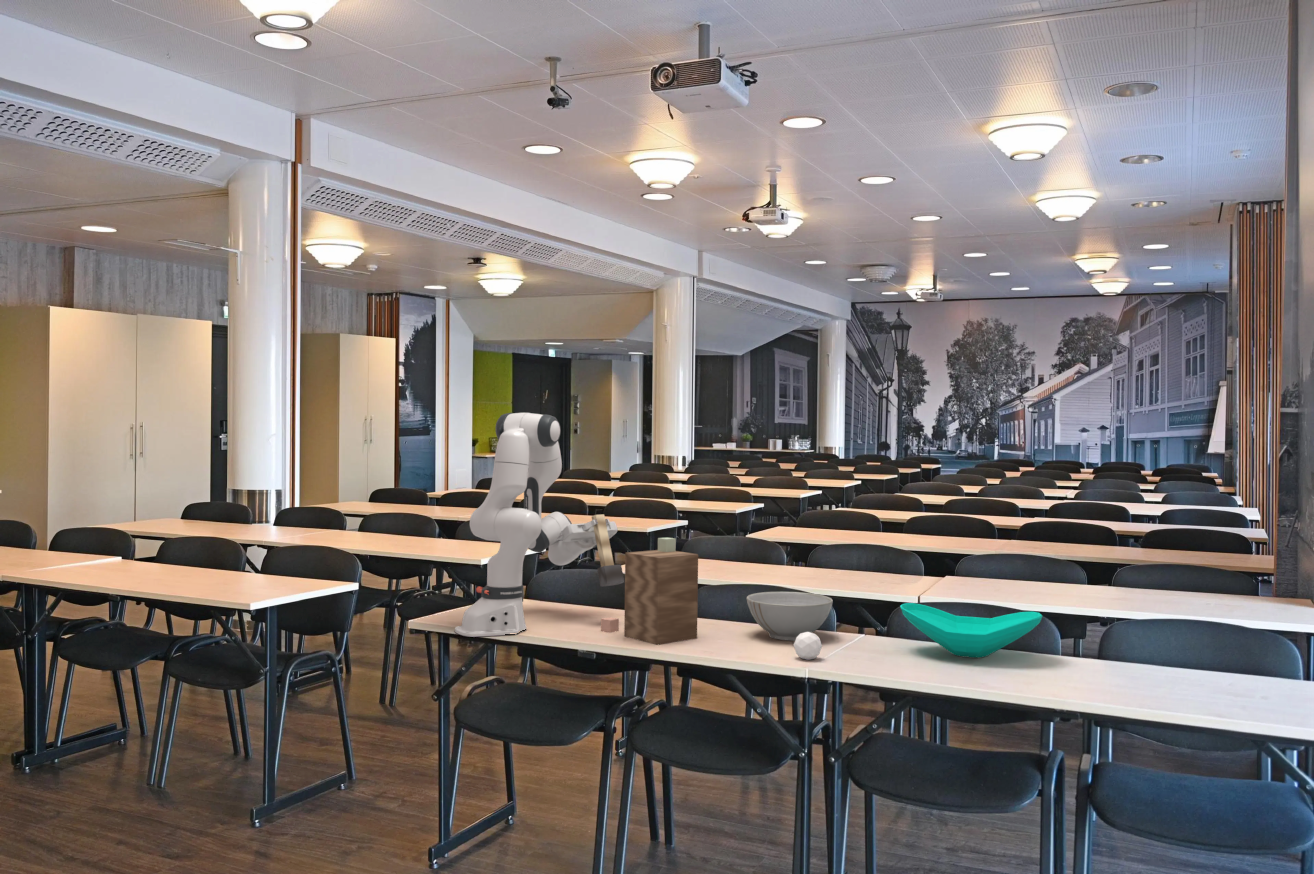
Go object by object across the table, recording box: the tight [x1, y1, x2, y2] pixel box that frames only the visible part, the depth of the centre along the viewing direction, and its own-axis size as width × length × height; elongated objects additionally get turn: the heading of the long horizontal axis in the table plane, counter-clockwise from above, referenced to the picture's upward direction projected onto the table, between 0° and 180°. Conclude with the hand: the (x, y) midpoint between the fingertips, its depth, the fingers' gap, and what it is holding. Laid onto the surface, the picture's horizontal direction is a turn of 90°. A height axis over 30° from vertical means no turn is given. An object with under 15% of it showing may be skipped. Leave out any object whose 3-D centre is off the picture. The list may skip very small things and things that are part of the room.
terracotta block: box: [600, 616, 620, 634], centre depth 334 cm, size 4×4×4 cm
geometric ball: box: [793, 632, 823, 661], centre depth 297 cm, size 8×8×8 cm
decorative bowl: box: [746, 591, 834, 641], centre depth 329 cm, size 27×27×12 cm
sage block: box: [657, 537, 677, 552], centre depth 331 cm, size 4×4×4 cm
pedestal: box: [623, 549, 699, 646], centre depth 325 cm, size 16×16×26 cm
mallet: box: [591, 513, 625, 588], centre depth 346 cm, size 24×7×4 cm
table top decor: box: [899, 602, 1043, 659], centre depth 304 cm, size 40×28×13 cm
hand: (601, 521), depth 348 cm, fingers closed on mallet, 3 cm apart
